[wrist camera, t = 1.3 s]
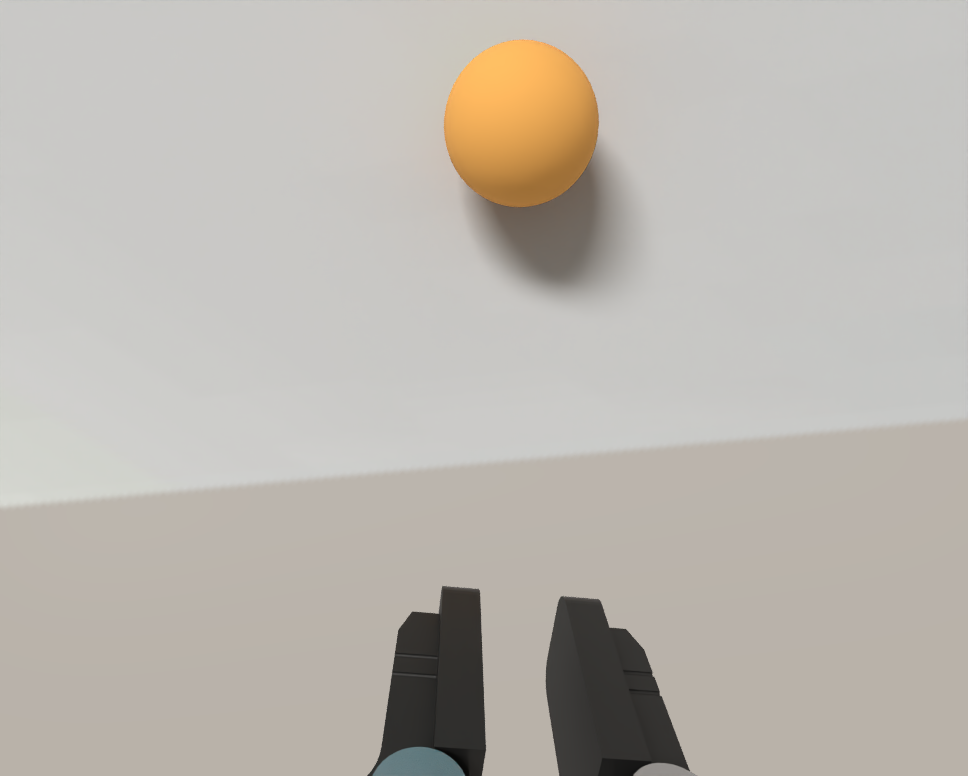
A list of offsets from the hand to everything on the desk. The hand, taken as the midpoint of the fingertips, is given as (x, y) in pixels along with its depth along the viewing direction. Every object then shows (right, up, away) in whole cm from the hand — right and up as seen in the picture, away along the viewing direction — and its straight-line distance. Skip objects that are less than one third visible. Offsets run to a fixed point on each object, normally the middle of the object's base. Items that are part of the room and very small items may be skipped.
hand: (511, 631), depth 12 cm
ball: (+1, +14, +10) cm, 17 cm away
